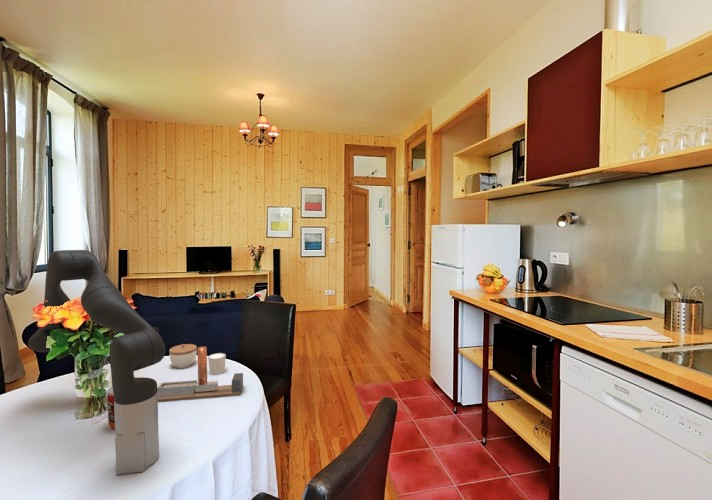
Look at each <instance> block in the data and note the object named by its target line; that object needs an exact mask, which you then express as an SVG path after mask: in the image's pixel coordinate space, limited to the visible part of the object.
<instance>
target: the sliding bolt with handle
mask: <svg viewBox="0 0 712 500" xmlns="http://www.w3.org/2000/svg"><path fill="white" fill-rule="evenodd" d="M207 349H208V348H207V346H198V347H197V383H183V384H169V385H164V386H163V387H171V386H185V385H194V392H202V391H215V390H217V388H218V386H219V385H218V383H219V381H218V380H216V381H215V380H213V381H212V380H211V381H208V352H207Z"/></svg>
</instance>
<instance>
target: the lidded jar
mask: <svg viewBox="0 0 712 500" xmlns="http://www.w3.org/2000/svg"><path fill="white" fill-rule="evenodd" d="M197 348H198V347H197V345H196V344H192V343H187V344H186V343H185V344H184V343H181V344H178V345H175V346H173V347H171V348H170V349H169V350H168V352H169V358H170V362H171V364H172V365H173V366H175V368H176V369H185V368H189V367H191V366H192V364H193V363H194V362H195V360H196V358H197V354H198V350H197Z"/></svg>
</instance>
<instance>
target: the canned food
mask: <svg viewBox="0 0 712 500" xmlns="http://www.w3.org/2000/svg"><path fill="white" fill-rule="evenodd" d="M106 397H107V415H108V416H107V420H108V421H107V422H108V426H109V428H110V429H113V430H115V414H114V413H115V412H114V393H113V388H112V387H110V388H108V389H107V396H106Z"/></svg>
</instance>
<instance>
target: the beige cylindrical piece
mask: <svg viewBox="0 0 712 500" xmlns="http://www.w3.org/2000/svg"><path fill="white" fill-rule="evenodd" d="M226 357H227V354H226V353H223V352H217V353H212V354H210V355H208V356H207V362H208V367H209V368H208V369H209V374H210V375H212V376H219V375H221V374H224V373H225V371H226V370H225V369H226Z"/></svg>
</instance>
